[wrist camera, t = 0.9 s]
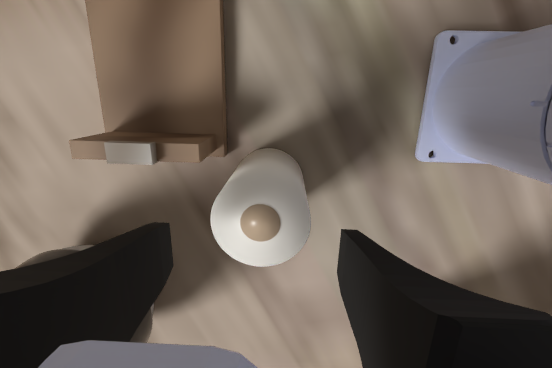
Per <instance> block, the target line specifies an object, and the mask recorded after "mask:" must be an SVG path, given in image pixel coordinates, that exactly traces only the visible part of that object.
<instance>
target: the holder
mask: <svg viewBox="0 0 552 368" xmlns="http://www.w3.org/2000/svg"><path fill="white" fill-rule="evenodd" d="M85 3H86V10H87V16H88V23H89V29H90V36H91V42H92V49H93V55H94V62H95V68H96V75H97V81H98V88H99V94H100V101H101V107H102V114H103V120H104V127H105V133H102V134H97V135H93V136H88V137H83V138H78V139H73V140H69V144H70V149H71V154H72V159H98V160H107V163H110V164H142V165H153V164H155V163H157V161H162V162H193V163H200V162H201V161H202V160H203V159H205V158H206V157H207V156H214V157H225V156H226V155H227V123H226V87H225V51H224V15H223V0H85Z"/></svg>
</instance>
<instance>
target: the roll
mask: <svg viewBox="0 0 552 368" xmlns="http://www.w3.org/2000/svg"><path fill="white" fill-rule="evenodd" d="M210 221H211V228H212V232H213V235H214V237H215V239H216V241H217V243H218V244H219V246H220V247H221V248H222V249H223V250H224V251H225V252H226V253H227V254H228V255H229V256H231V257H232V258H234V259H235V260H237V261H239V262H241V263H244V264H247V265H252V266H259V267H266V266H273V265H277V264H280V263H283V262H285V261H287V260H289V259H290V258H292V257H293V256H295V255H296V254H297V253H298V252H299V251H300V250H301V249H302V247H303V246H304V244H305V243H306V241H307V238H308V236H309V233H310V227H311V216H310V210H309V205H308V200H307V195H306V190H305V185H304V179H303V174H302V171H301V169H300V166H299V165H298V163H297V162H296V161H295V159H294V158H293V157H291V156H290V155H289V154H287V153H286V152H284V151H281V150H278V149H274V148H264V149H259V150H256V151H254V152H252V153H250V154H248V155H247V156H246V157H245V158H244V159H243V160H242V161H241V163H240V164H239V165H238V167H237V168H236V170H235V171H234V173H233V174H232V176H231V177H230V178H229V180H228V181H227V183H226V184H225V186H224V187H223V188H222V190H221V191H220V193H219V194H218V196H217V197H216V199H215V201H214V203H213V206H212V209H211V219H210Z"/></svg>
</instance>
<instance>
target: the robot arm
mask: <svg viewBox="0 0 552 368" xmlns="http://www.w3.org/2000/svg"><path fill="white" fill-rule="evenodd" d="M451 36H453V37H454V38H455V42H454V44H451V43H450V38H451ZM431 151H433V153H434V154H433V156H431V157H428V154H429V152H431ZM415 157H416V158H417V159H418V160H420V161H423V162H453V163H486V164H491V165H494V166H497V167H500V168H503V169H506V170H509V171H512V172H515V173H518V174H521V175H524V176H527V177H530V178H533V179H536V180H539V181H542V182H545V183H547V184H550V185H552V24H550V25H546V26H542V27H539V28H535V29H531V30H527V31H524V32H512V31H456V30H446V31H442V32H440V33H439V34H438V35H437V36H436V37H435V40H434V46H433V51H432V57H431V63H430V69H429V75H428V81H427V87H426V92H425V98H424V104H423V110H422V116H421V122H420V127H419V133H418V139H417V145H416V151H415ZM172 267H173V257H172V246H171V236H170V226H169V223H158V222H155V223H151V224H147V225H145V226H142V227H139V228H137V229H134V230H132V231H130V232H127V233H125V234H122V235H120V236H118V237H115V238H113V239H110V240H108V241H105V242H102V243H100V244H97V245H95V246H92V247H89V248H87V249H84V250H81V251H78V252H75V253H72V254H69V255H66V256H62V257H59V258H56V259H52V260H49V261H45V262H41V263H37V264H32V265H28V266H24V267H20V268H16V269H11V270H6V271H1V272H0V368H257V367H256V366H255V365H254V364H252V363H251V362H250V361H249V360H247V359H246V358H245V357H244V356H243V355H241V354H240V353H238V352H234V351H230V350H226V349H222V348H218V347H215V346H199V345H178V344H158V343H137V342H130V340H131V338H132V336H133V335H134V333H135V331H136V330H137V328H138V327H139V325H140V323H141V322H142V320H143V319H144V317H145V316H146V314H147V313H148V311H149V309H150V308H151V306H152V305H153V303H154V302H155V300H156V298H157V297H158V295H159V294H160V292H161V290H162V289H163V287H164V285H165V283H166V281H167V279H168V277H169V275H170V272H171V270H172ZM337 275H338V281H339V286H340V292H341V296H342V299H343V302H344V305H345V308H346V311H347V314H348V317H349V321H350V324H351V327H352V330H353V333H354V336H355V339H356V342H357V345H358V349H359V353H360V357H361V361H362V366H363V368H552V316H551V315H549V314H548V313H545V312H541V311H537V310H533V309H529V308H525V307H522V306H518V305H514V304H510V303H506V302H502V301H499V300H496V299H493V298H489V297H486V296H483V295H480V294H477V293H474V292H471V291H468V290H466V289H463V288H460V287H458V286H455V285H453V284H450V283H448V282H445V281H443V280H441V279H438V278H436V277H434V276H432V275H430V274H428V273H426V272H424V271H422V270H420V269H418V268H416V267H414V266H412V265H410V264H408V263H407V262H405V261H403V260H402V259H400V258H398V257H397V256H395V255H393V254H392V253H390V252H389V251H387V250H386V249H384V248H383V247H381V246H380V245H378V244H377V243H376V242H374V241H373V240H371V239H370V238H368V237H367V236H366V235H364V234H363V233H361V232H359V231H358V230H347V229H341V238H340V248H339V258H338V268H337Z"/></svg>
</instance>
